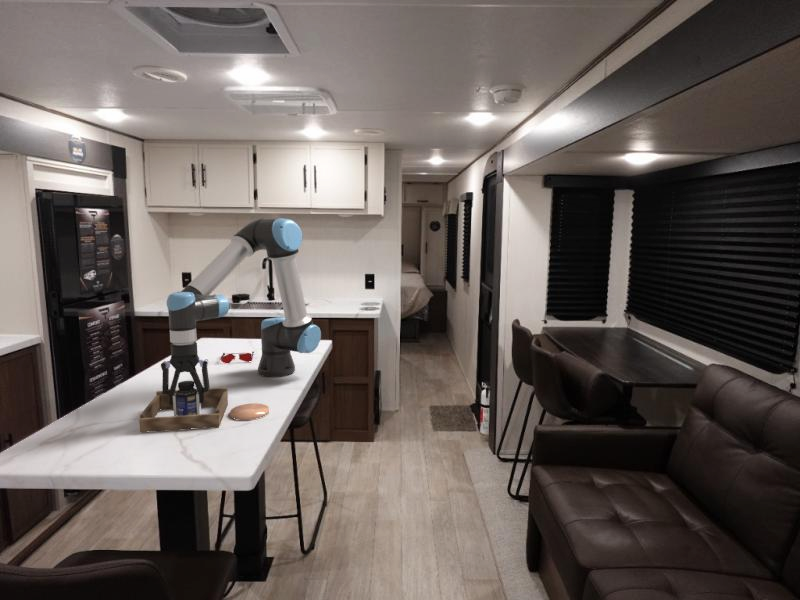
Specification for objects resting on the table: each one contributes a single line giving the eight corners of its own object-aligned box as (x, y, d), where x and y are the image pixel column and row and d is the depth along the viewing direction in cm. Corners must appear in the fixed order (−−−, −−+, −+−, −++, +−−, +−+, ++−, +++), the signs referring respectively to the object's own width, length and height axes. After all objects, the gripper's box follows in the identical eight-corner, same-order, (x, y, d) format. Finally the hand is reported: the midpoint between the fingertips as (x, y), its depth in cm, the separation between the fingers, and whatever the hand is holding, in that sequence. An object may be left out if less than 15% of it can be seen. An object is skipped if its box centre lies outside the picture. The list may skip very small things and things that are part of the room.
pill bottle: (190, 420, 151) (188, 386, 149) (172, 419, 152) (170, 385, 150) (202, 413, 157) (200, 380, 155) (185, 412, 158) (183, 379, 156)
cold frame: (227, 404, 166) (227, 387, 165) (219, 427, 147) (218, 408, 146) (158, 408, 162) (157, 391, 161) (139, 432, 142) (138, 412, 141)
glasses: (220, 365, 216) (220, 354, 215) (223, 356, 232) (223, 345, 231) (253, 363, 219) (252, 352, 219) (254, 354, 235) (254, 344, 235)
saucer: (269, 405, 165) (269, 402, 165) (268, 419, 154) (267, 415, 154) (232, 408, 163) (232, 404, 163) (228, 421, 151) (227, 418, 151)
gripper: (218, 338, 157) (221, 407, 160) (153, 340, 153) (158, 411, 156) (214, 343, 149) (217, 415, 153) (146, 346, 145) (151, 420, 149)
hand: (187, 413), depth 154 cm, fingers closed on pill bottle, 6 cm apart
